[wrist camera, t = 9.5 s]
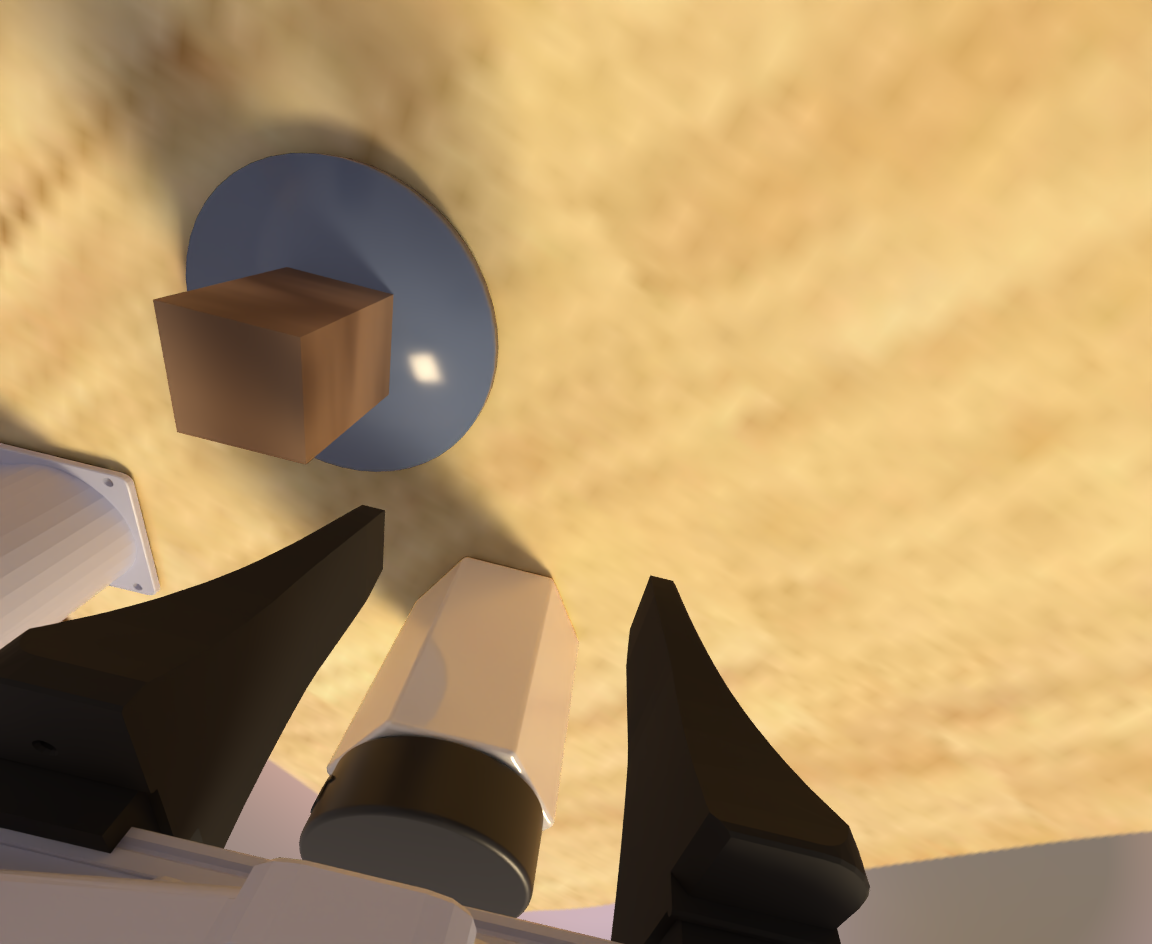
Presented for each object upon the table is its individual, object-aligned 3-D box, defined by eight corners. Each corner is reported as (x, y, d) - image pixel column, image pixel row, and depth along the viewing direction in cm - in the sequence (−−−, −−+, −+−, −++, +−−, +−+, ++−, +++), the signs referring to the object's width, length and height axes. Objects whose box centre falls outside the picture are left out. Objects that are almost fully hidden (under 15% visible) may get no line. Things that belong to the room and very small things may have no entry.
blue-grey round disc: (224, 425, 24) (209, 434, 23) (182, 115, 18) (158, 112, 17) (480, 488, 24) (473, 499, 23) (521, 201, 18) (515, 202, 17)
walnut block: (292, 369, 21) (177, 432, 16) (286, 266, 19) (152, 299, 14) (388, 394, 21) (306, 464, 16) (393, 294, 19) (300, 337, 14)
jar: (394, 567, 27) (239, 810, 17) (542, 540, 25) (470, 795, 15) (462, 684, 31) (370, 939, 21) (593, 668, 29) (566, 940, 19)
